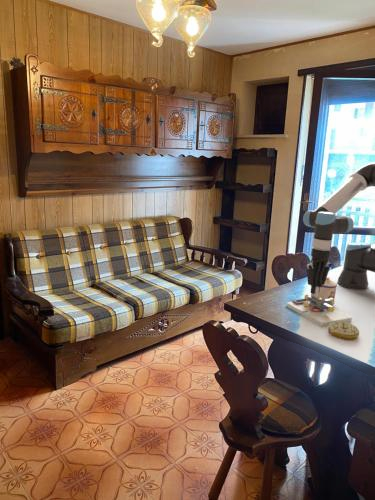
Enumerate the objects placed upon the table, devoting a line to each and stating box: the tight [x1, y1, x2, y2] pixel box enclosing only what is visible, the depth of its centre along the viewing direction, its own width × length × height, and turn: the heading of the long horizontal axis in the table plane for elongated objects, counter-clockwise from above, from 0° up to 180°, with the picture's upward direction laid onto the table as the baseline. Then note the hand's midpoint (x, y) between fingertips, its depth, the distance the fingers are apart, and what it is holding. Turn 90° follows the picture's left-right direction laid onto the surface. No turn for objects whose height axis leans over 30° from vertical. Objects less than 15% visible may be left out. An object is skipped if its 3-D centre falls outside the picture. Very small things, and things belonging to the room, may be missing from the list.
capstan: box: [303, 293, 336, 312], centre depth 165 cm, size 17×17×5 cm
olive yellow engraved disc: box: [328, 322, 360, 341], centre depth 147 cm, size 10×11×4 cm
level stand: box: [286, 297, 352, 327], centre depth 166 cm, size 16×22×3 cm
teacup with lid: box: [318, 276, 338, 300], centre depth 181 cm, size 12×9×12 cm
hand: (313, 300), depth 171 cm, fingers closed
